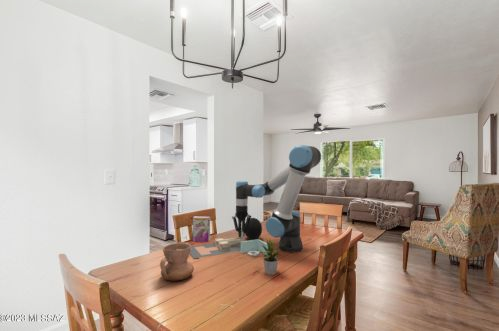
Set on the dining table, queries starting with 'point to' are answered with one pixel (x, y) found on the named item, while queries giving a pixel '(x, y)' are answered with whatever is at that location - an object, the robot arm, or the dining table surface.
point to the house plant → (270, 257)
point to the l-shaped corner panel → (253, 247)
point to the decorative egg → (254, 229)
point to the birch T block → (227, 243)
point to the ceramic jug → (176, 262)
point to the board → (209, 250)
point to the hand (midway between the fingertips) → (241, 241)
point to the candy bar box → (201, 229)
